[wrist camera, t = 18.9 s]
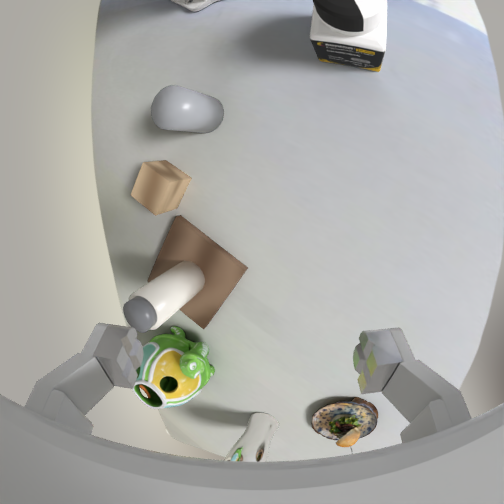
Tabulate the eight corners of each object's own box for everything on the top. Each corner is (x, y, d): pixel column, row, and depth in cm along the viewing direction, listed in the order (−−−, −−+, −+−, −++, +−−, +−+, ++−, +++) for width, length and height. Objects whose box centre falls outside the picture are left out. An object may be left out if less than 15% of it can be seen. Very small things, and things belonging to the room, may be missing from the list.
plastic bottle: (171, 278, 41) (117, 315, 30) (183, 253, 39) (125, 289, 28) (196, 299, 41) (146, 343, 30) (210, 275, 38) (158, 319, 28)
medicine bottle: (318, 61, 26) (297, 15, 15) (324, 15, 23) (305, -41, 12) (379, 73, 24) (391, 29, 13) (383, 24, 21) (390, -30, 10)
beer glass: (266, 407, 45) (235, 471, 32) (288, 427, 45) (263, 490, 32) (241, 414, 48) (208, 472, 35) (263, 433, 49) (235, 490, 35)
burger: (355, 385, 38) (351, 421, 31) (389, 419, 38) (388, 453, 31) (299, 410, 43) (288, 442, 37) (336, 440, 43) (329, 470, 36)
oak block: (153, 189, 39) (130, 195, 34) (166, 160, 37) (143, 162, 32) (177, 208, 38) (155, 215, 34) (192, 177, 36) (169, 181, 32)
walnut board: (151, 278, 44) (147, 281, 43) (180, 215, 38) (175, 217, 37) (207, 325, 43) (203, 329, 42) (248, 267, 37) (244, 271, 36)
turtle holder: (249, 360, 43) (217, 412, 32) (187, 386, 51) (155, 425, 40) (198, 302, 42) (152, 344, 32) (146, 341, 51) (107, 375, 40)
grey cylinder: (183, 122, 34) (144, 118, 27) (201, 91, 31) (164, 79, 24) (211, 139, 33) (174, 137, 26) (230, 106, 31) (197, 95, 24)
